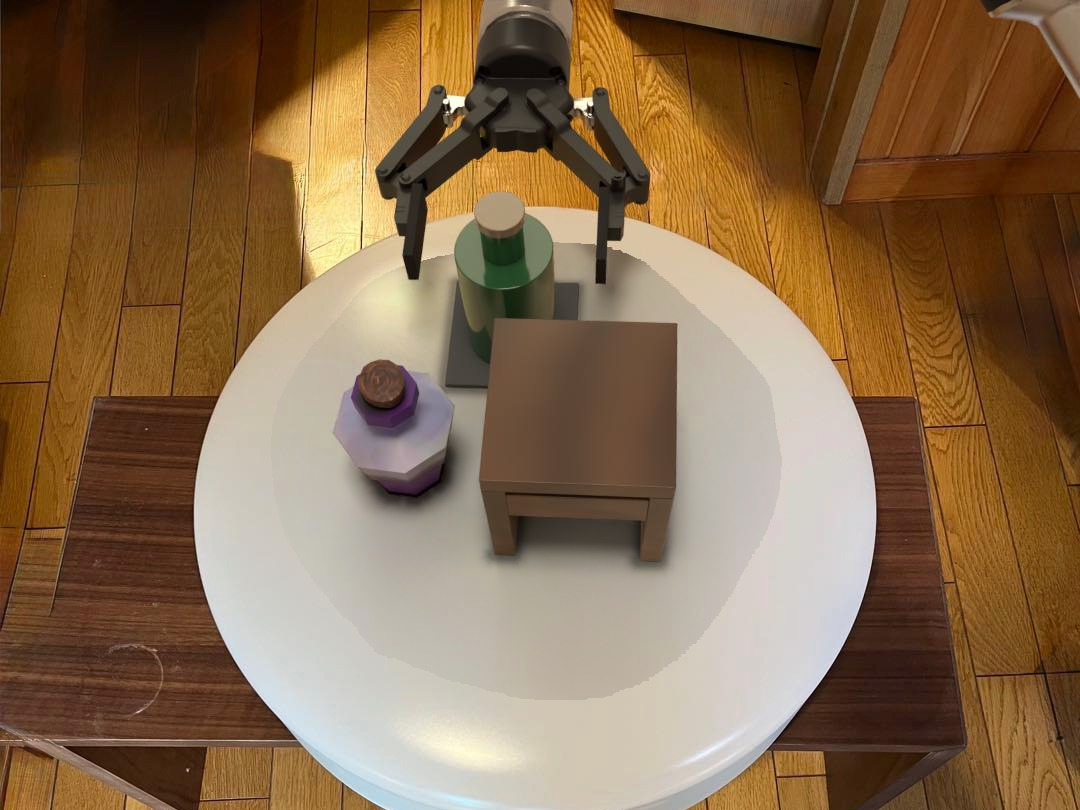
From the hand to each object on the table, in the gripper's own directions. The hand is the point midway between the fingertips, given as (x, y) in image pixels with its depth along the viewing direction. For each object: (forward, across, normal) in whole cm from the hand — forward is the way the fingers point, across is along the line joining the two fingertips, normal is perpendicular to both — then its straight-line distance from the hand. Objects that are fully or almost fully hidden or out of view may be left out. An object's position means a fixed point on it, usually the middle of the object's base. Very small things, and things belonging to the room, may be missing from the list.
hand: (505, 270), depth 69 cm
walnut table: (+12, -6, -9) cm, 16 cm away
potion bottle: (+11, +7, -9) cm, 16 cm away
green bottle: (-1, 0, -9) cm, 9 cm away
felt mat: (-1, 0, -9) cm, 9 cm away
